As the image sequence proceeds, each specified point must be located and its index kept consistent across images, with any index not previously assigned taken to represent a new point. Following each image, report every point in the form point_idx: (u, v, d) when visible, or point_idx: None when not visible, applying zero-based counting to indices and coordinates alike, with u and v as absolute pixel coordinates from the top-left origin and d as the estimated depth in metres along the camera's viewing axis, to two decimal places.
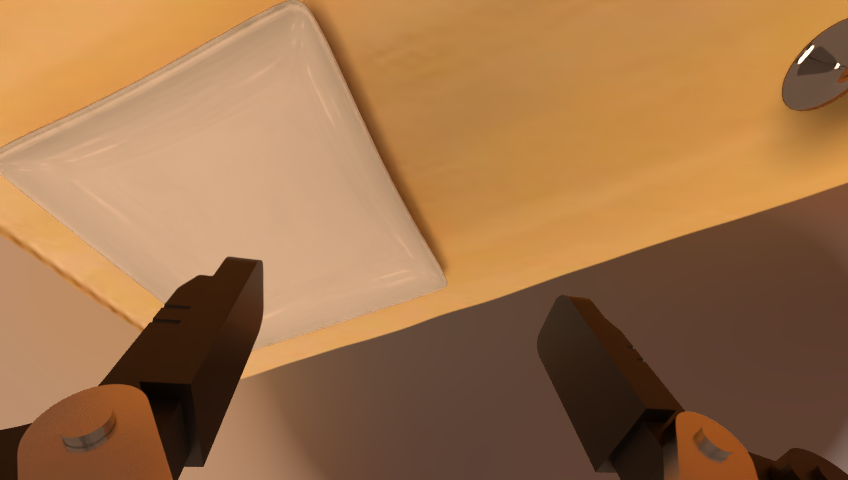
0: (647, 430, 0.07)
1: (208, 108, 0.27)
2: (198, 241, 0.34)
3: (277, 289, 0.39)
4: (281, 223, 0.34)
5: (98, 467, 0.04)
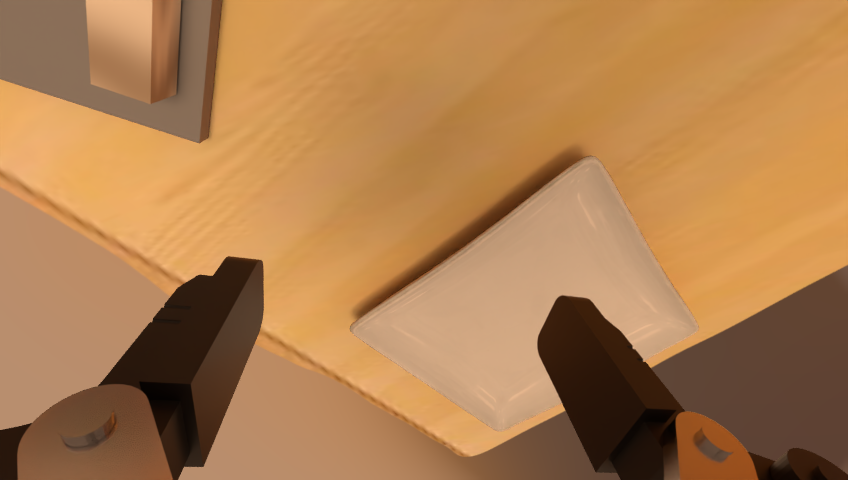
0: (647, 430, 0.07)
1: (496, 246, 0.33)
2: (471, 345, 0.41)
3: (530, 367, 0.44)
4: (540, 313, 0.39)
5: (98, 467, 0.04)
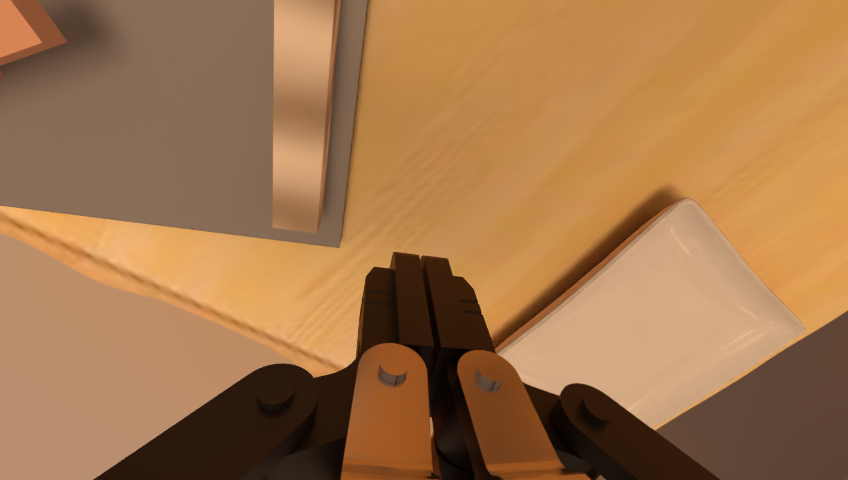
0: (445, 368, 0.07)
1: (596, 285, 0.36)
2: (576, 374, 0.43)
3: (634, 386, 0.45)
4: (640, 336, 0.41)
5: (392, 401, 0.06)
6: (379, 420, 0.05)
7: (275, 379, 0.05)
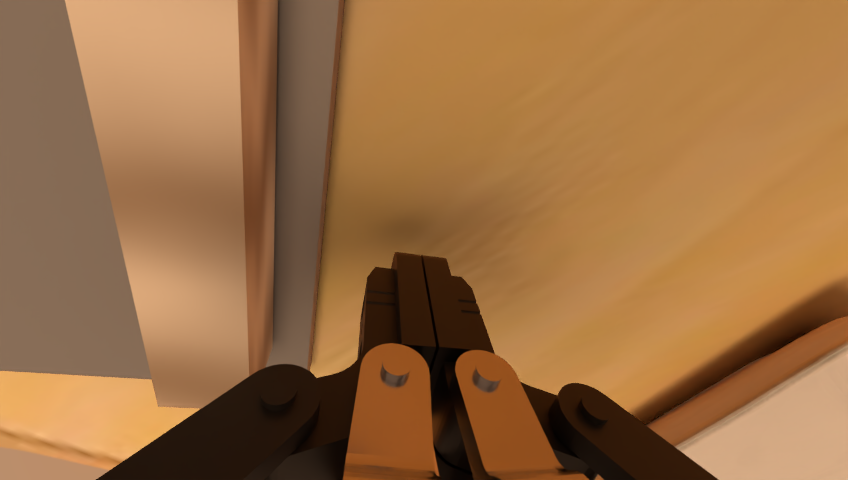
0: (443, 369, 0.07)
1: None
2: None
3: None
4: (748, 463, 0.28)
5: (394, 401, 0.06)
6: (382, 420, 0.05)
7: (277, 380, 0.05)
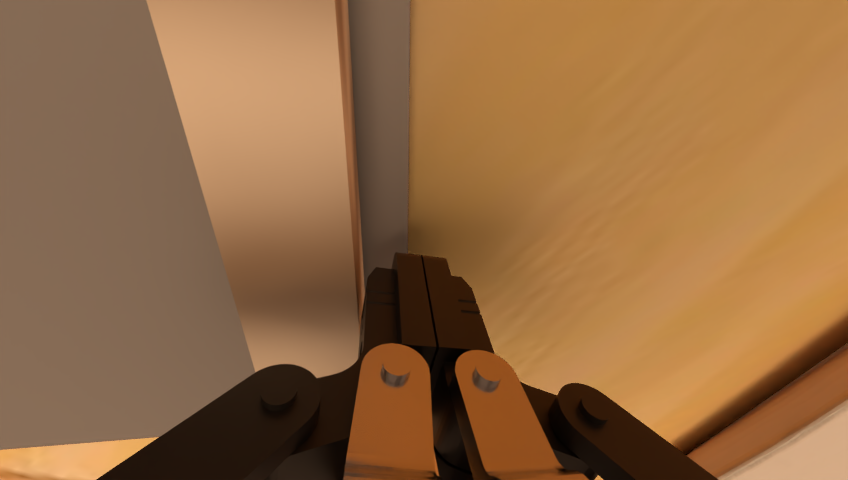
0: (443, 369, 0.07)
1: None
2: None
3: None
4: None
5: (395, 402, 0.06)
6: (382, 420, 0.05)
7: (279, 380, 0.05)
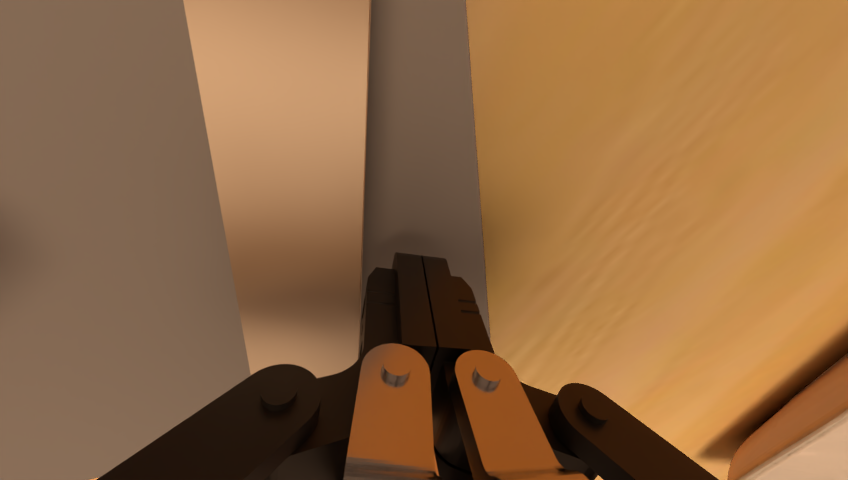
0: (443, 369, 0.07)
1: None
2: None
3: None
4: None
5: (396, 402, 0.06)
6: (382, 420, 0.05)
7: (278, 379, 0.05)
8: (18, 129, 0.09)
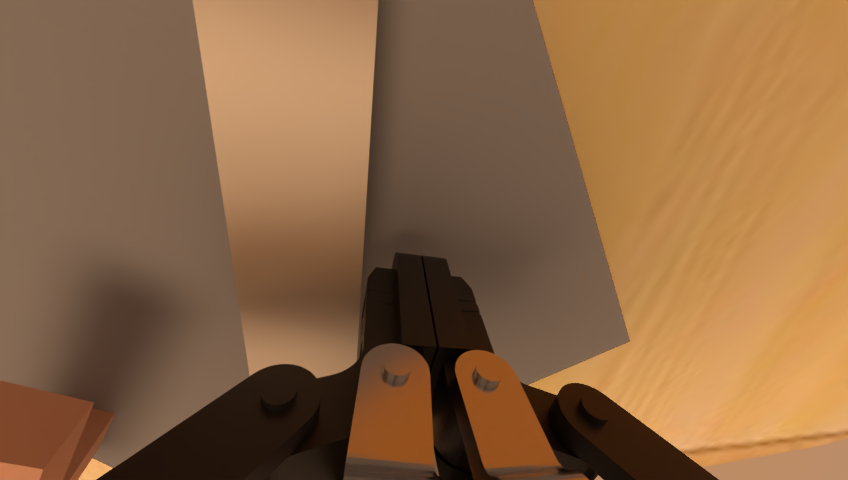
0: (443, 369, 0.07)
1: None
2: None
3: None
4: None
5: (396, 402, 0.06)
6: (382, 420, 0.05)
7: (278, 380, 0.05)
8: (160, 205, 0.11)
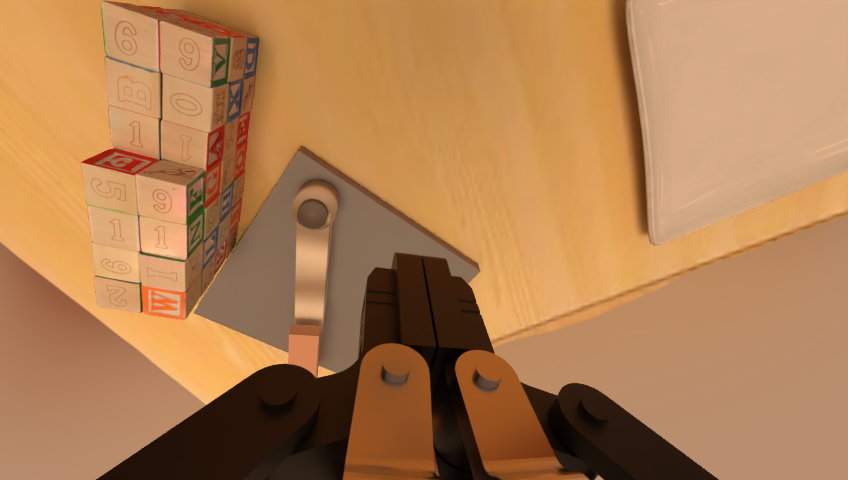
0: (443, 369, 0.07)
1: (660, 99, 0.35)
2: (751, 147, 0.39)
3: (839, 86, 0.37)
4: (771, 63, 0.35)
5: (394, 402, 0.06)
6: (382, 420, 0.05)
7: (278, 380, 0.05)
8: None
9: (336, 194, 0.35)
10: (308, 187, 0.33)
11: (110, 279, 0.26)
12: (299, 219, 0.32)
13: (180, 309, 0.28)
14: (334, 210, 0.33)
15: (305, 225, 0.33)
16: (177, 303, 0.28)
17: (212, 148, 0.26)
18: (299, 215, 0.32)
